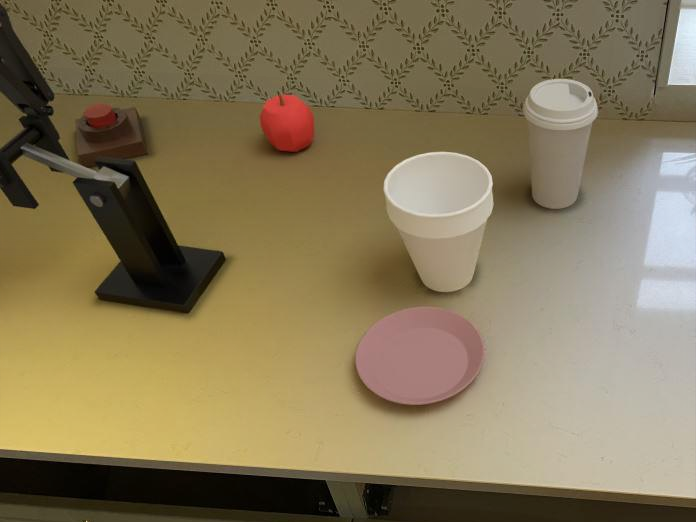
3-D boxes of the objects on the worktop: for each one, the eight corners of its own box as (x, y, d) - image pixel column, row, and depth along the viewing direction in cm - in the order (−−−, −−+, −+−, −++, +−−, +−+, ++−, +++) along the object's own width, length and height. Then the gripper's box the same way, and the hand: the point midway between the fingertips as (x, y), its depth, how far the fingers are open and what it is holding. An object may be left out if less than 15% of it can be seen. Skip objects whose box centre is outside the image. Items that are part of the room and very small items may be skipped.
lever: (-7, 167, 69) (-13, 149, 67) (30, 136, 72) (25, 118, 71) (110, 215, 71) (108, 198, 69) (140, 182, 75) (138, 166, 73)
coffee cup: (576, 222, 89) (586, 120, 77) (511, 206, 91) (512, 105, 80) (596, 183, 95) (608, 83, 83) (535, 169, 97) (538, 70, 85)
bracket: (99, 300, 80) (24, 192, 68) (143, 247, 86) (81, 139, 74) (188, 313, 79) (128, 205, 66) (226, 259, 85) (178, 151, 72)
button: (88, 118, 100) (82, 107, 98) (116, 112, 101) (110, 101, 99) (89, 130, 98) (83, 120, 96) (118, 124, 99) (112, 114, 97)
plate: (382, 433, 68) (379, 422, 66) (343, 341, 76) (339, 329, 74) (505, 386, 71) (505, 375, 70) (456, 303, 80) (455, 291, 78)
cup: (477, 316, 78) (472, 225, 67) (383, 296, 80) (364, 204, 70) (506, 252, 85) (506, 160, 75) (419, 235, 88) (407, 143, 77)
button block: (81, 132, 104) (68, 108, 101) (141, 119, 106) (129, 95, 103) (85, 168, 98) (71, 144, 95) (147, 154, 100) (136, 130, 97)
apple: (299, 164, 98) (285, 114, 92) (257, 151, 100) (240, 102, 94) (329, 137, 103) (318, 88, 96) (288, 126, 105) (274, 77, 98)
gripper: (-160, 8, 50) (19, 245, 68) (6, -77, 61) (121, 145, 79) (-241, 1, 51) (-43, 236, 69) (-63, -82, 62) (67, 138, 80)
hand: (45, 187), depth 74 cm, fingers closed on lever, 6 cm apart
